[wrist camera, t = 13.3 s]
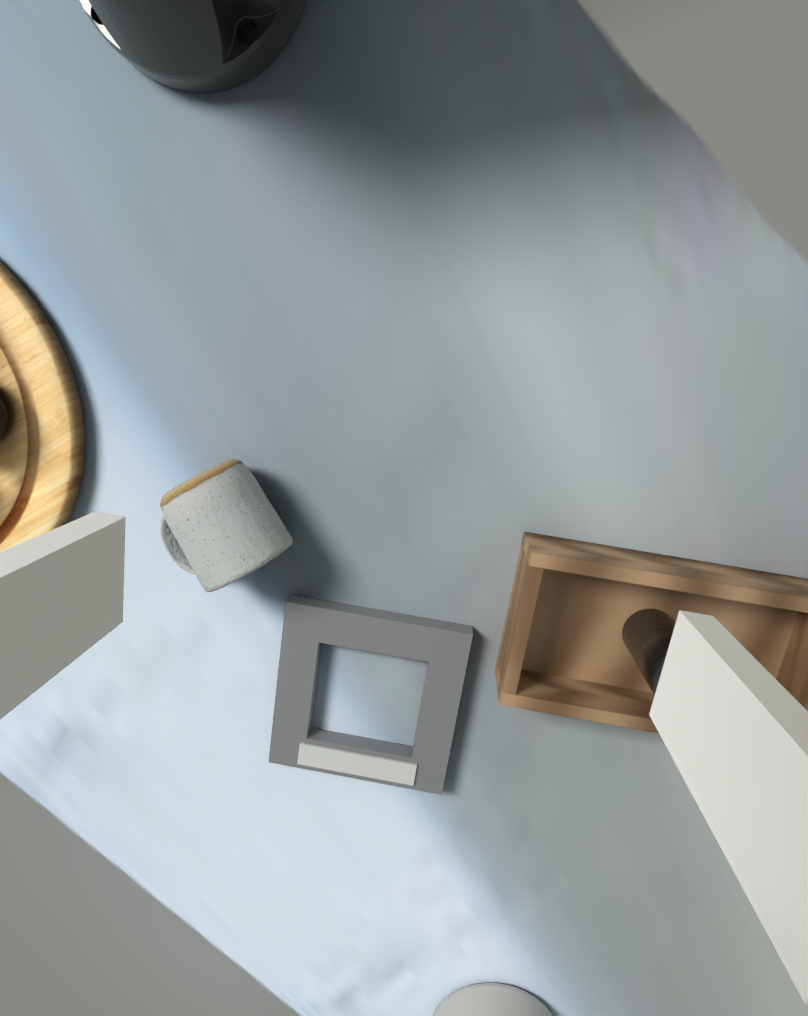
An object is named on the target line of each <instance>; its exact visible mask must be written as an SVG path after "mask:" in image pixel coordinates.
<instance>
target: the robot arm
mask: <svg viewBox="0 0 808 1016" xmlns="http://www.w3.org/2000/svg"><path fill="white" fill-rule="evenodd" d="M305 1H306V0H80V2H81V4H82V6H83V8H84V10H85V11H86V13H87V15H88V16H89V18H90V19H91V21H92V22H93V24H94V25H95V27H96V28H97V29H98V31H99V32H100V33H101V34H102V36H103V37H104V38H105V39H106V40H107V42H108V43H109V44H110V45H111V46H112V47H113V48H114V49H115V50H117V51H118V52H119V53H120V54H121V55H122V56H123V57H124V58H125V59H126V60H128V61H129V62H130V63H131V64H132V65H133V66H134V67H135V68H137V69H138V70H139V71H140V72H142V73H143V74H145V75H146V76H148V77H149V78H151V79H153V80H155V81H156V82H158V83H161V84H163V85H165V86H168V87H171V88H174V89H177V90H181V91H187V92H196V93H207V92H216V91H222V90H225V89H229V88H232V87H235V86H237V85H240V84H242V83H244V82H246V81H248V80H249V79H251V78H253V77H254V76H256V75H257V74H259V73H260V72H261V71H262V70H264V69H265V68H266V67H267V66H268V65H269V64H270V63H271V62H272V61H273V60H274V59H275V58H276V57H277V56H278V55H279V53H280V52H281V51H282V49H283V48H284V47H285V45H286V44H287V42H288V41H289V39H290V37H291V36H292V34H293V32H294V30H295V28H296V26H297V24H298V22H299V19H300V17H301V14H302V11H303V8H304V5H305ZM124 552H125V517H123V516H117V515H111V514H105V513H99V512H93V513H90V514H88V515H86V516H83V517H81V518H79V519H76V520H74V521H72V522H69V523H67V524H65V525H63V526H60V527H58V528H56V529H53V530H51V531H49V532H46V533H44V534H42V535H39V536H37V537H35V538H32V539H30V540H28V541H25V542H23V543H21V544H18V545H16V546H14V547H11V548H9V549H7V550H4V551H2V552H0V719H1V718H3V717H4V716H5V715H6V714H8V713H9V712H10V711H11V710H13V709H14V708H15V707H16V706H18V705H19V704H20V703H21V702H23V701H24V700H25V699H26V698H28V697H29V696H30V695H31V694H33V693H34V692H35V691H36V690H38V689H39V688H40V687H41V686H43V685H44V684H45V683H46V682H48V681H49V680H50V679H51V678H53V677H54V676H55V675H56V674H58V673H59V672H60V671H61V670H63V669H64V668H65V667H67V666H68V665H69V664H70V663H72V662H73V661H74V660H75V659H77V658H78V657H79V656H80V655H82V654H83V653H84V652H85V651H87V650H88V649H89V648H90V647H92V646H93V645H94V644H95V643H97V642H98V641H99V640H100V639H102V638H103V637H104V636H105V635H107V634H108V633H109V632H110V631H112V630H113V629H114V628H115V627H117V626H118V625H119V624H120V623H122V622H123V589H124ZM649 715H650V717H651V719H652V721H653V723H654V725H655V727H656V728H657V730H658V732H659V734H660V736H661V738H662V740H663V741H664V743H665V745H666V747H667V749H668V751H669V753H670V754H671V756H672V758H673V760H674V762H675V764H676V766H677V767H678V769H679V771H680V773H681V775H682V777H683V778H684V780H685V782H686V784H687V786H688V788H689V790H690V791H691V793H692V795H693V797H694V799H695V801H696V803H697V804H698V806H699V808H700V810H701V812H702V814H703V816H704V817H705V819H706V821H707V823H708V825H709V827H710V829H711V830H712V832H713V834H714V836H715V838H716V840H717V842H718V843H719V845H720V847H721V849H722V851H723V853H724V855H725V856H726V858H727V860H728V862H729V864H730V866H731V868H732V869H733V871H734V873H735V875H736V877H737V879H738V881H739V882H740V884H741V886H742V888H743V890H744V892H745V893H746V895H747V897H748V899H749V901H750V903H751V905H752V906H753V908H754V910H755V912H756V914H757V916H758V918H759V919H760V921H761V923H762V925H763V927H764V929H765V931H766V932H767V934H768V936H769V938H770V940H771V942H772V944H773V945H774V947H775V949H776V951H777V953H778V955H779V957H780V958H781V960H782V962H783V964H784V966H785V968H786V970H787V971H788V973H789V975H790V977H791V979H792V981H793V983H794V984H795V986H796V988H797V990H798V992H799V994H800V995H801V997H802V999H803V1001H804V1003H805V1005H808V711H807V710H806V709H805V708H804V707H803V706H802V705H801V704H800V703H799V702H798V701H797V700H796V699H795V698H794V697H793V696H792V695H791V694H790V693H789V692H788V691H787V690H786V689H785V688H784V687H783V686H782V685H781V684H780V683H779V682H778V681H777V680H776V679H775V678H774V677H773V676H772V675H771V674H770V673H769V672H768V671H767V670H766V669H765V668H764V667H763V666H762V665H761V664H760V663H759V662H758V661H757V660H756V659H755V658H754V657H753V656H752V655H751V654H750V653H749V652H748V651H747V650H746V649H745V648H744V647H743V646H742V645H741V644H740V643H739V642H738V641H737V639H736V638H735V637H734V636H733V635H732V634H731V633H730V632H729V631H728V630H727V629H726V628H725V627H724V626H723V625H722V624H721V623H720V622H719V621H718V620H717V619H716V618H715V617H714V616H711V615H705V614H699V613H693V612H687V611H681V610H679V613H678V617H677V620H676V623H675V627H674V630H673V634H672V637H671V641H670V644H669V648H668V651H667V655H666V658H665V661H664V665H663V668H662V672H661V675H660V679H659V682H658V686H657V689H656V693H655V696H654V700H653V703H652V706H651V710H650V713H649Z"/></svg>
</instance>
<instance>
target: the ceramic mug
mask: <svg viewBox="0 0 808 1016" xmlns="http://www.w3.org/2000/svg"><path fill="white" fill-rule="evenodd" d="M160 506H161V509H162V512H163V515H164V517H163V519H162V521H161V536H162V539H163V542H164V545H165V547H166V549H167V551H168V553H169V554H170V556H171V557H172V559H173V560H174V561H175V562H176V563H177V564H178V565H179V566H180V567H181V568H182V569H184V570H185V571H187V572H189V573H192V574H196V576H197V578H198V580H199V582H200V583H201V585H202V587H203V588H204V590H205V591H206V592H212V591H215V590H218V589H220V588H223V587H225V586H227V585H228V584H230V583H233V582H234V581H236V580H238V579H240V578H242V577H243V576H245V575H247V574H249V573H251V572H253V571H255V570H256V569H258V568H260V567H262V566H263V565H265V564H266V563H268V562H269V561H270V560H272V559H274V558H275V557H277V556H278V555H280V554H281V553H282V552H284V551H285V550H286V549H287V548H288V547H290V546H291V545H292V543H293V538H292V537H291V535H290V534H289V532H288V531H287V529H286V527H285V526H284V524H283V522H282V521H281V519H280V517H279V516H278V514H277V513H276V511H275V509H274V508H273V506H272V505H271V503H270V502H269V500H268V498H267V497H266V495H265V494H264V492H263V490H262V489H261V487H260V485H259V483H258V482H257V480H256V479H255V477H254V476H253V474H252V473H251V471H250V470H249V469H248V468H247V467H246V466H245V465H244V464H243V463H242V462H241V461H238V460H235V459H232V460H228V461H225V462H223V463H221V464H219V465H216V466H214V467H212V468H210V469H208V470H206V471H204V472H202V473H200V474H198V475H196V476H195V477H193V478H191V479H189V480H187V481H185V482H183V483H182V484H180V485H178V486H177V487H175V488H173V489H172V490H170V491H169V492H167V493H166V494H165V495H164V496H163V497H162V499H161V503H160Z"/></svg>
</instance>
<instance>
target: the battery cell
mask: <svg viewBox="0 0 808 1016" xmlns="http://www.w3.org/2000/svg"><path fill="white" fill-rule="evenodd" d="M674 627H675V622H674V621H673V620H672V618H671V617H670V616H669V615H668V614H666V613H665V612H663V611H661V610H658V609H643V610H639V611H637V612H635V613H634V614H632V615H631V616H630V617H629V618H628V619H627V620H626V622H625V623H624V626H623V629H622V638H623V641H624V644H625V645H626V647H627V649H628V651H629V652H630V654H631V656H632V658H633V659H634V661H635V663H636V664H637V666H638V668H639V670H640V671H641V673H642V675H643V677H644V678H645V680H646V682H647V684H648V685H649V687H650V689H651V690H652V692H653V694H654V696H655V693H656V689H657V686H658V682H659V679H660V675H661V672H662V668H663V665H664V661H665V658H666V655H667V651H668V648H669V644H670V641H671V637H672V634H673V630H674Z"/></svg>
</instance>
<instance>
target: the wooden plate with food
mask: <svg viewBox="0 0 808 1016" xmlns="http://www.w3.org/2000/svg"><path fill="white" fill-rule="evenodd" d="M84 446H85V435H84V423H83V413H82V407H81V402H80V397H79V394H78V390H77V387H76V383H75V380H74V377H73V374H72V371H71V368H70V365H69V362H68V360H67V358H66V355H65V353H64V351H63V349H62V346H61V344H60V342H59V340H58V338H57V336H56V334H55V333H54V331H53V329H52V327H51V325H50V323H49V322H48V320H47V318H46V317H45V315H44V314H43V312H42V311H41V310H40V308H39V307H38V305H37V304H36V303H35V301H34V300H33V298H32V297H31V296H30V294H29V293H28V292H27V290H26V289H25V288H24V287H23V285H22V284H21V283H20V282H19V280H18V279H17V278H16V277H15V276H14V275H13V274H12V273H11V272H10V271H9V270H8V269H7V268H6V267H5V266H4V265H3V264H2V263H1V262H0V552H2V551H4V550H7V549H9V548H11V547H14V546H16V545H18V544H21V543H23V542H25V541H28V540H30V539H32V538H35V537H37V536H39V535H42V534H44V533H46V532H49V531H51V530H53V529H56V528H58V527H60V526H63V525H65V524H67V522H68V519H69V517H70V515H71V513H72V511H73V508H74V505H75V502H76V500H77V496H78V492H79V489H80V484H81V478H82V473H83V464H84Z"/></svg>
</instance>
